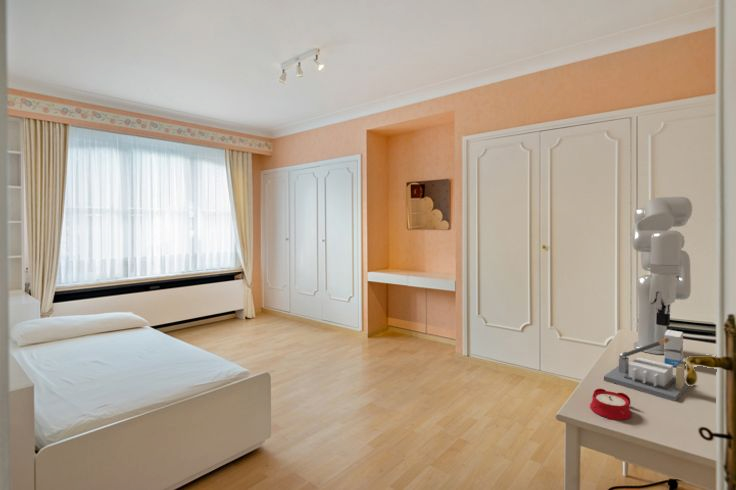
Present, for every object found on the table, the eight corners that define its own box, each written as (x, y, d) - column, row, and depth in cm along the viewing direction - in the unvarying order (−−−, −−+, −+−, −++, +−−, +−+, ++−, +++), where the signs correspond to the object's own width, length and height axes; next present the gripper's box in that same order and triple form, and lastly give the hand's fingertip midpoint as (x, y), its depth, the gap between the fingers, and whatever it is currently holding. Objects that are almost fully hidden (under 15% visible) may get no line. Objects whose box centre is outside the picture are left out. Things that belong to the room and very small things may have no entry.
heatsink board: (623, 366, 144) (623, 344, 143) (691, 384, 128) (692, 359, 127) (603, 380, 133) (604, 356, 132) (675, 401, 117) (676, 374, 116)
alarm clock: (588, 404, 110) (592, 374, 122) (588, 422, 112) (592, 391, 124) (631, 414, 104) (632, 382, 116) (631, 433, 106) (631, 399, 118)
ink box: (680, 368, 140) (681, 337, 139) (663, 364, 144) (663, 334, 143) (683, 361, 146) (684, 331, 145) (666, 358, 150) (667, 329, 149)
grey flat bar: (621, 359, 134) (618, 355, 135) (625, 356, 137) (622, 352, 137) (667, 343, 123) (663, 339, 124) (670, 341, 126) (667, 336, 126)
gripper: (658, 266, 131) (656, 318, 133) (642, 271, 122) (641, 326, 123) (685, 268, 125) (683, 323, 127) (671, 273, 116) (670, 332, 117)
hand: (662, 324), depth 125 cm, fingers closed
